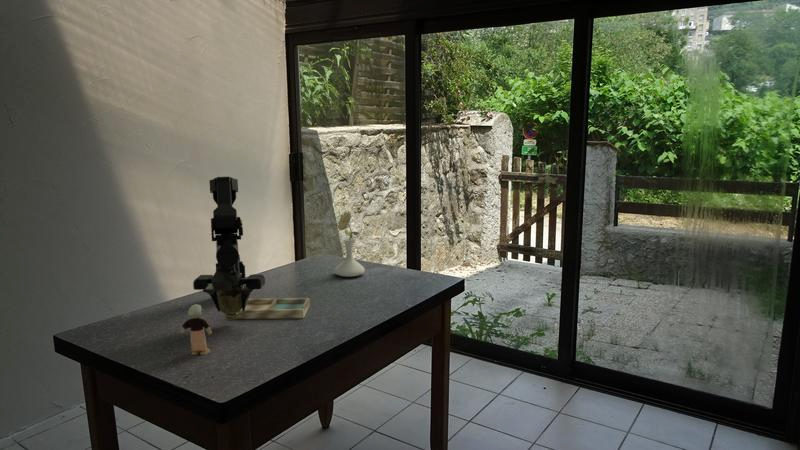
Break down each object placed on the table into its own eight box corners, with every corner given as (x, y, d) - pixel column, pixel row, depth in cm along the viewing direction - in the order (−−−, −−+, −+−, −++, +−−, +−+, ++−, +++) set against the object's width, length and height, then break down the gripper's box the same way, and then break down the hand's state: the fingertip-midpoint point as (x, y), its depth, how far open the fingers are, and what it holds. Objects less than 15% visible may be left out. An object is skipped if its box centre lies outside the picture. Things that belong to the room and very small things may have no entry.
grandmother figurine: (215, 348, 144) (212, 301, 142) (212, 354, 141) (209, 306, 138) (184, 350, 143) (180, 303, 141) (180, 356, 140) (176, 308, 137)
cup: (220, 324, 155) (218, 296, 154) (216, 316, 162) (214, 289, 160) (248, 319, 159) (246, 292, 157) (242, 311, 165) (240, 285, 163)
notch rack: (233, 318, 166) (232, 310, 165) (243, 306, 177) (243, 298, 176) (303, 318, 166) (303, 310, 165) (309, 305, 177) (309, 298, 176)
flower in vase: (334, 271, 216) (332, 207, 212) (364, 270, 218) (363, 206, 213) (334, 281, 204) (332, 213, 199) (366, 279, 205) (364, 212, 200)
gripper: (183, 265, 149) (188, 321, 152) (254, 265, 149) (257, 321, 152) (198, 255, 160) (202, 307, 163) (264, 254, 160) (266, 307, 163)
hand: (231, 311), depth 160 cm, fingers closed on cup, 6 cm apart
